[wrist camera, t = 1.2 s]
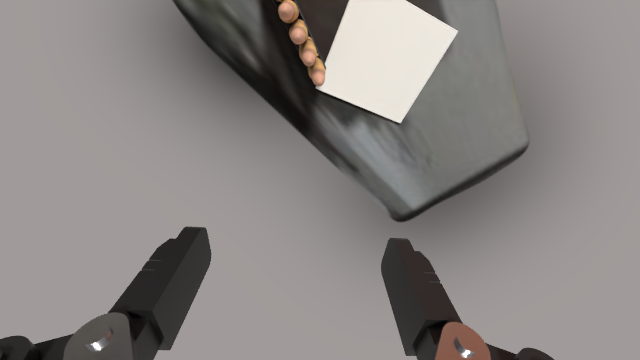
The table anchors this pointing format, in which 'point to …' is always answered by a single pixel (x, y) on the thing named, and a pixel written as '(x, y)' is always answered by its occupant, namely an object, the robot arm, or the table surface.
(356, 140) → the table surface
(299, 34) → the ammunition clip
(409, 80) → the mat
